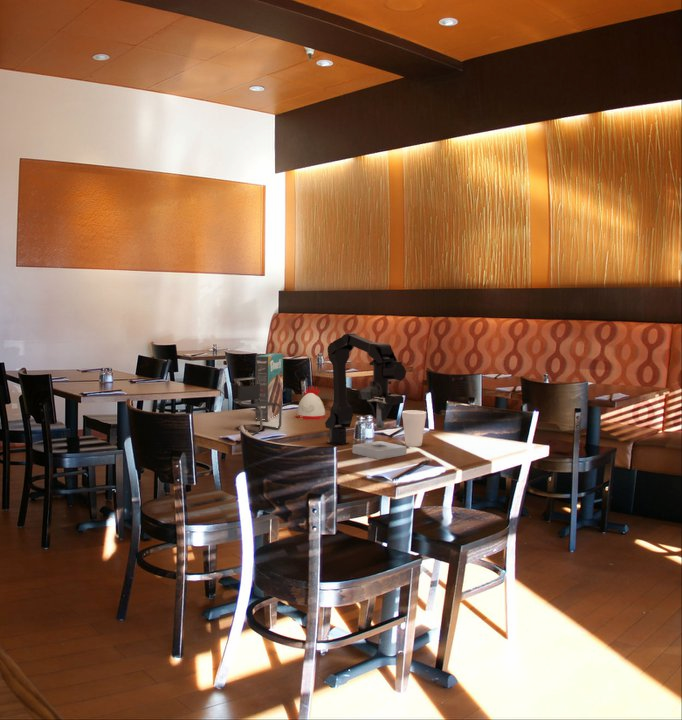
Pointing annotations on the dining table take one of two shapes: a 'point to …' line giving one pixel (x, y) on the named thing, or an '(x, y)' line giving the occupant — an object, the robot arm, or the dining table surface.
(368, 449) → the socket block
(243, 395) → the chair
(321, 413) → the kitchen timer
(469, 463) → the dining table surface
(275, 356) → the cake mix box
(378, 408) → the pin
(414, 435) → the foam cup
